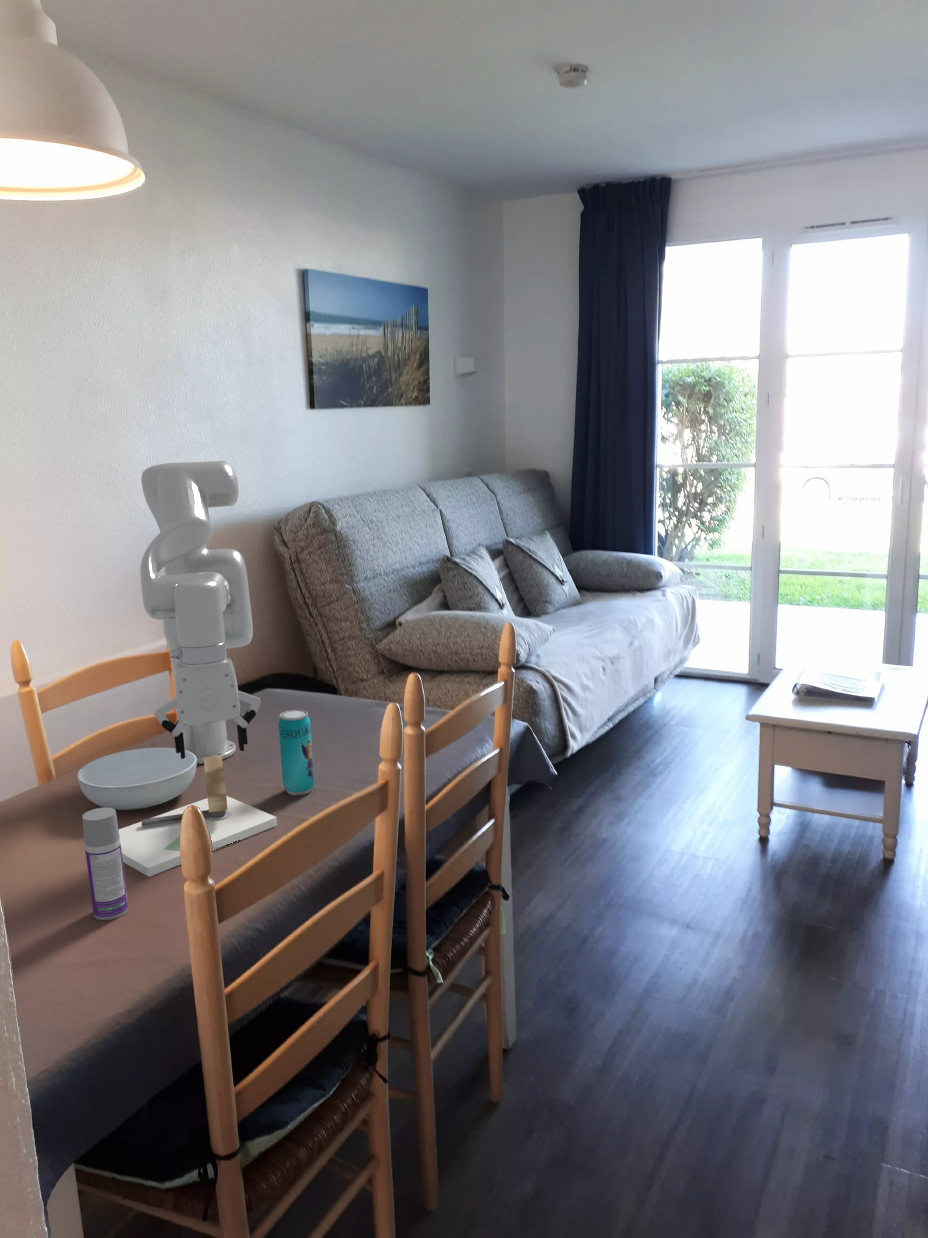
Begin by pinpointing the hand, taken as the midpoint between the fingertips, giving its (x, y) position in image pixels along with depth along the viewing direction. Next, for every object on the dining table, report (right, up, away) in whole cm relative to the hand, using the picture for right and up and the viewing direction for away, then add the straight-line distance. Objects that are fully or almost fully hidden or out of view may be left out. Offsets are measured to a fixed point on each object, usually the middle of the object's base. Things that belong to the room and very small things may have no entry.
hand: (212, 752), depth 163 cm
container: (-8, -19, -25) cm, 33 cm away
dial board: (-4, -14, -1) cm, 14 cm away
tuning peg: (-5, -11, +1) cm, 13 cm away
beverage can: (+12, -10, +17) cm, 23 cm away
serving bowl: (-17, -11, +15) cm, 26 cm away
